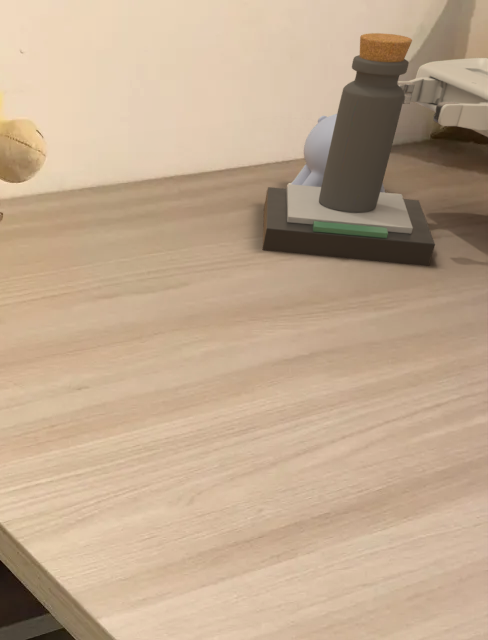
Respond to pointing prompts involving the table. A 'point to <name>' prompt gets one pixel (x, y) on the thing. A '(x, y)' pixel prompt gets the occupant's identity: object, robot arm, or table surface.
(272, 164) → the table surface
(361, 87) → the bottle
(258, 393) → the table surface
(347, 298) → the table surface
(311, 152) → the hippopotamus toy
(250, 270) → the table surface
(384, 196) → the scale
